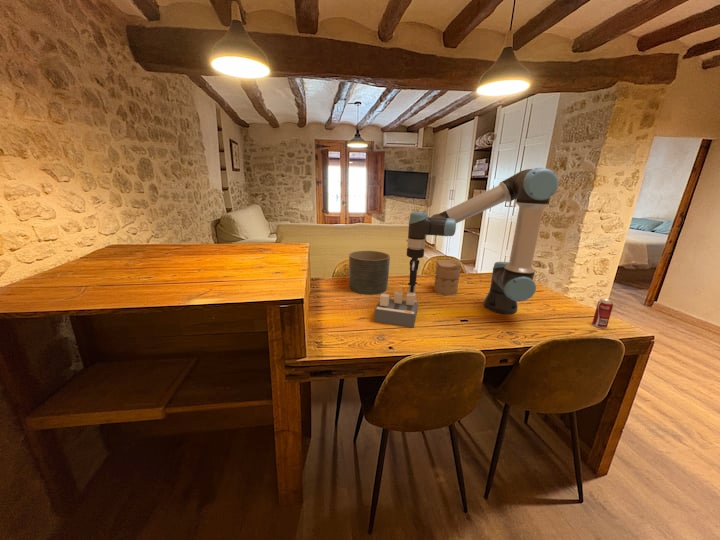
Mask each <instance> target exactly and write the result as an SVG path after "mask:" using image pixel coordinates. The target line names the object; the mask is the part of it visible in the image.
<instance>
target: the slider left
mask: <svg viewBox="0 0 720 540" xmlns="http://www.w3.org/2000/svg"><path fill="white" fill-rule="evenodd" d="M390 296H391V295H390V294H389V293H384V292H383V293H381V294H380V296H379V301H380V306H386V307H388V305H389V297H390Z"/></svg>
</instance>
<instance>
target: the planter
mask: <svg viewBox="0 0 720 540" xmlns="http://www.w3.org/2000/svg"><path fill="white" fill-rule="evenodd" d="M348 256H349V257H348V286H349V290H350V291H351V292H354V293H356V294H359V295H366V296H370V295H371V296H374V295H381V294H382V293H383V294H384V293H385V292H387V290H388V287H389V285H388V284H389V273H390V263H391V262H390V260H391V256H390V254H388V253H385V252H383V251H377V250H358V251H357V250H356V251H353V252H350V253H349V255H348Z"/></svg>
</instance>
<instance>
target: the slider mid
mask: <svg viewBox="0 0 720 540" xmlns="http://www.w3.org/2000/svg"><path fill="white" fill-rule="evenodd" d="M393 297H394V303H397V304H402V302H403V299H404V291H398V290H395V291H394V295H393Z"/></svg>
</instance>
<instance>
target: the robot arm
mask: <svg viewBox="0 0 720 540" xmlns="http://www.w3.org/2000/svg"><path fill="white" fill-rule="evenodd" d="M558 188H559V179H558V176H557V174H556V173H555V172H554V171H553V170H552V169H549V168H545V167H535V168H526V169H523V170H520V171H519V172H517V173H515V174H513V175H511V176H510V177H508V178H506V179H504V180H501V181H500V182H499V183H498V185H497V186H495V187H493V188H491V189H487V190H486V191H484V192H482V193H480V194H477V195H475V196H474V197H472V198H469V199H467V200H465V201H463V202H461V203H459V204H456V205H454V206H452V207H450V208H449V209H446V210H444V211H442V212H440V213H435V214H433V215H431V216H430V217H429V216H428V215H429V214H428V213H427V212H423V211H413V212H411V213H410V214H409V220H408V230H407V231H408V233H407V234H408V235H407V239H406V242H407V245H406V246H407V248H406V256H407V257H408V258H411V259H410V260H409V282H408V283H407V286H409V288H408V293H416V285H418V282H417V274H418V269H419V264H420V260H419V259H422V258H424V256H425V249H424V248H425V247H426V237H427V236H439V237H440V236H441V237H453V236H454V235H455V234H456V230H457V224H458V223H460V222H463V221H465V220H467V219H469V218H471V217H473V216H476V215H479V214H481V213H483V212H484V211H487V210H488V209H491V208H493V207H495V206H497V205H499V204H502V203H505V202H507V203H511V202H512V201H515V200H516V201H515V204H517V206H518V212H517V218H516V224H515V229H514V236H513V239H512V246H511V251H510V257H509V261H496V262H495V263H494V264H493V268H492V274H491V282H490V287H489V291H488V293H487V295H486V297H485V299H484V301H483V307H484V308H485V309H487V310H488V311H491V312H494V313H498V314H505V315H507V314H508V315H509V314H516V312H518V306H519V305H518V303H519V302H525V301H527V300H529V299H531V298H532V297H534V294H535V293H536V291H537V285H536V282H535V280H534V276H535V269H534V268H533V266H532V265H533V260H534V256H535V251H536V247H537V242H538V237H539V232H540V227H541V221H542V217H543V212H544V209H546V207H547V206H549V205H550V202H551V201H550V200H551V198H552V196H553V195H555V194H556V192H557V191H558Z"/></svg>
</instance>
